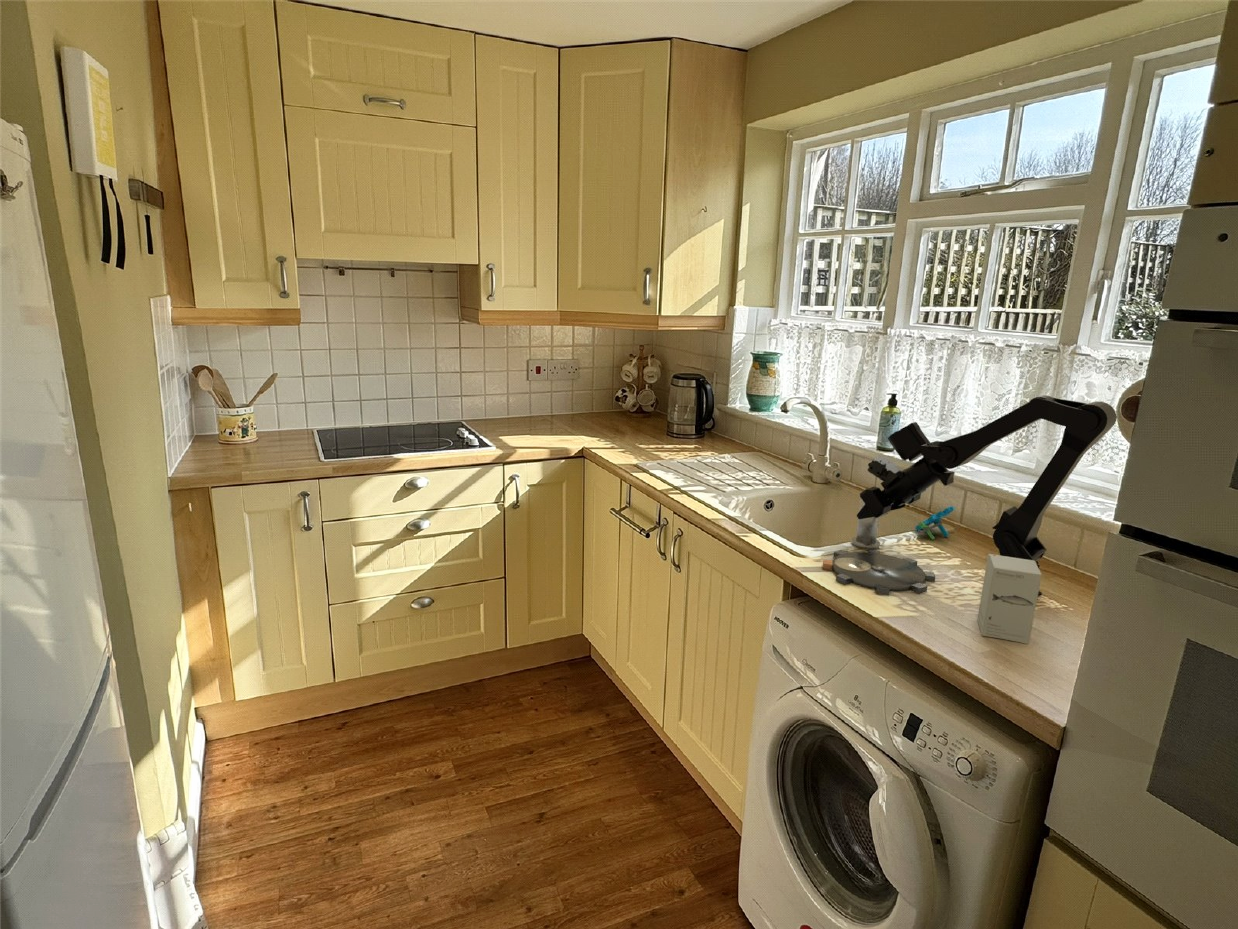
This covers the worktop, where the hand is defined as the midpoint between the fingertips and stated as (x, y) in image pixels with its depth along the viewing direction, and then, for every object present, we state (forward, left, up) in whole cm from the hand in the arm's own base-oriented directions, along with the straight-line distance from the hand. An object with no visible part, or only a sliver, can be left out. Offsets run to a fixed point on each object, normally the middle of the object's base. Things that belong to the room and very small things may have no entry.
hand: (863, 515), depth 164 cm
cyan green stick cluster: (+6, -21, -7) cm, 23 cm away
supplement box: (-43, -7, -7) cm, 44 cm away
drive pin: (-1, -1, -7) cm, 7 cm away
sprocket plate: (-17, +4, -7) cm, 19 cm away
